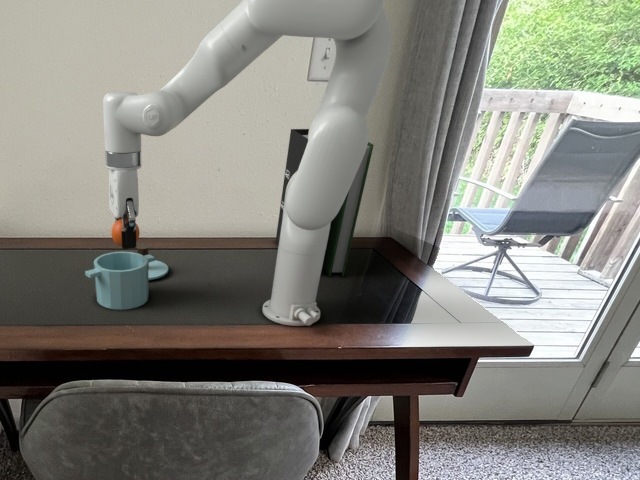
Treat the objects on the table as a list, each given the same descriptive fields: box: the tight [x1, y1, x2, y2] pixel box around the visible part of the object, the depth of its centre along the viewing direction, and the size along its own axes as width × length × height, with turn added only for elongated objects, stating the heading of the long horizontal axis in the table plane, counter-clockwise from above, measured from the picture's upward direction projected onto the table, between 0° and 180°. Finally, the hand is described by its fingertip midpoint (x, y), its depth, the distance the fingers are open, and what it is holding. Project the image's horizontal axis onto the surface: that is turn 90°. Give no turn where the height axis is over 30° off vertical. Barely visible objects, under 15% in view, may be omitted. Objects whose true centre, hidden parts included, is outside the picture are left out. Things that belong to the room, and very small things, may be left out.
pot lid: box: [136, 244, 169, 281], centre depth 127 cm, size 14×14×7 cm
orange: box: [110, 214, 141, 248], centre depth 107 cm, size 6×6×8 cm
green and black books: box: [275, 128, 374, 277], centre depth 128 cm, size 27×15×32 cm, turn 176°
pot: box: [84, 251, 156, 311], centre depth 114 cm, size 13×18×10 cm
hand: (125, 242), depth 109 cm, fingers closed on orange, 6 cm apart
